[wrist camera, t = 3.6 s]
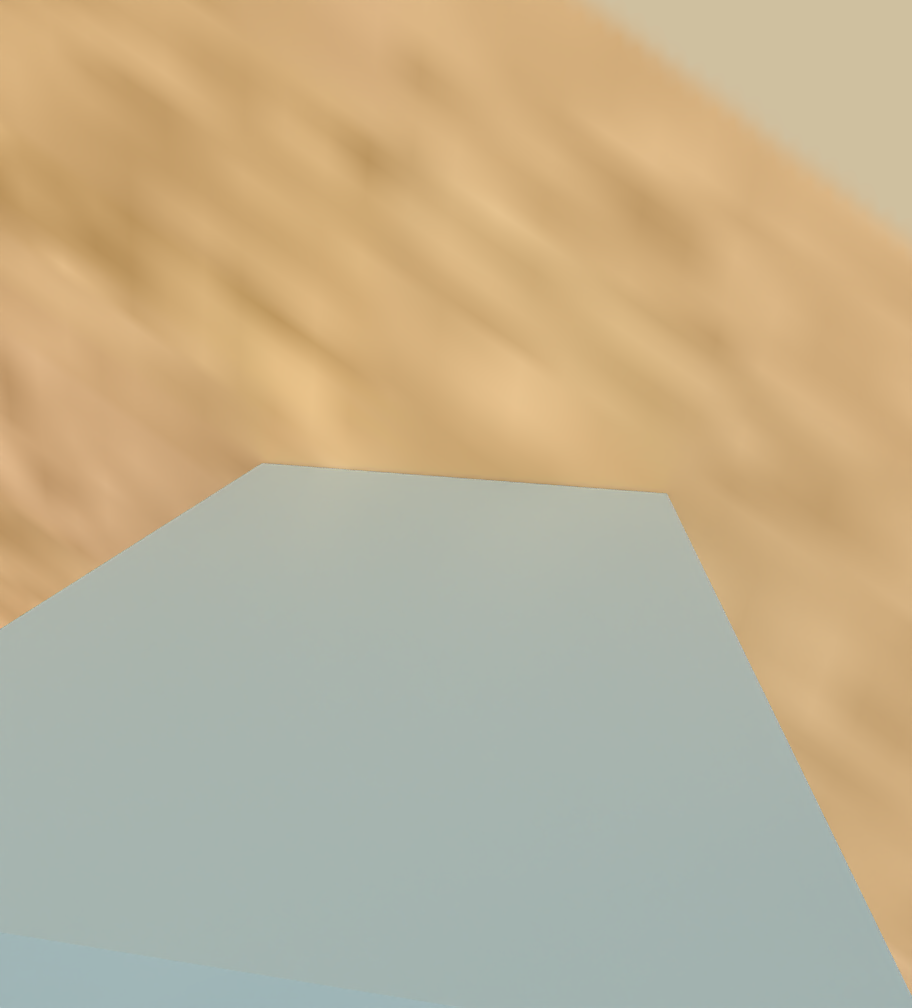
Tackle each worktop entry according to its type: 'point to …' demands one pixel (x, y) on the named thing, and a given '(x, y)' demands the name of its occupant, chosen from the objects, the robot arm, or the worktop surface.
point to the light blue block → (410, 767)
